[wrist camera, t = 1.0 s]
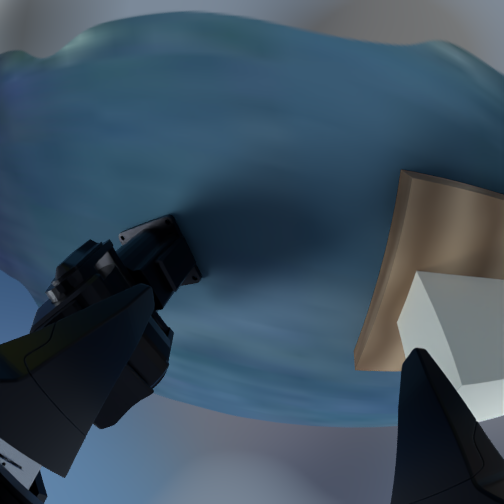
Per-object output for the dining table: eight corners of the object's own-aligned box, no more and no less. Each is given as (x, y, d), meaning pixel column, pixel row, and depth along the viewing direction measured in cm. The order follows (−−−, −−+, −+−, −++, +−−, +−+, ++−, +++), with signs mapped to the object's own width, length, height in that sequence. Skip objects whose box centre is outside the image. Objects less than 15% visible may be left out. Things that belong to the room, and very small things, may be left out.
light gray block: (397, 322, 20) (418, 432, 11) (416, 271, 17) (462, 385, 9) (508, 323, 17) (543, 400, 9) (530, 282, 15) (578, 357, 6)
